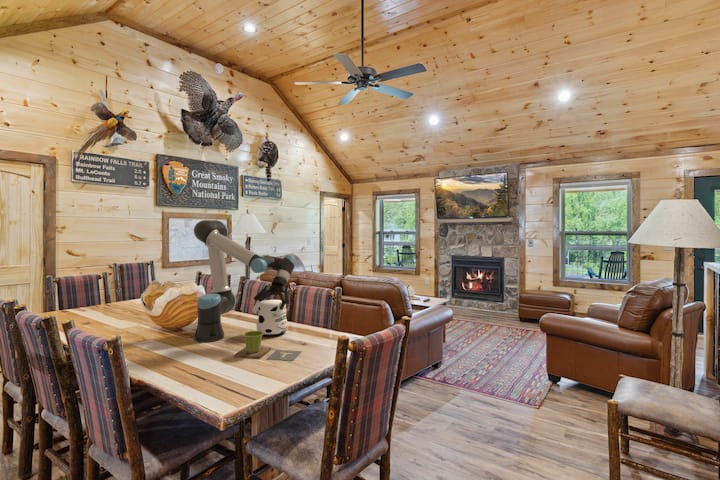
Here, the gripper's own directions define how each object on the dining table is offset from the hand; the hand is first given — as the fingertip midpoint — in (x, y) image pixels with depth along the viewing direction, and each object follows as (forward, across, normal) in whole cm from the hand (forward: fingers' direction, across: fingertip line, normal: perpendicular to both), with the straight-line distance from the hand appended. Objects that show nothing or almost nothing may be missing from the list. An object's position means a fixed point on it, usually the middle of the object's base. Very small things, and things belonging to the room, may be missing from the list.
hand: (265, 313), depth 193 cm
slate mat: (+18, -16, -7) cm, 25 cm away
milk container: (-3, +10, -28) cm, 30 cm away
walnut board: (+20, 0, -5) cm, 20 cm away
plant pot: (+19, 0, -4) cm, 20 cm away
